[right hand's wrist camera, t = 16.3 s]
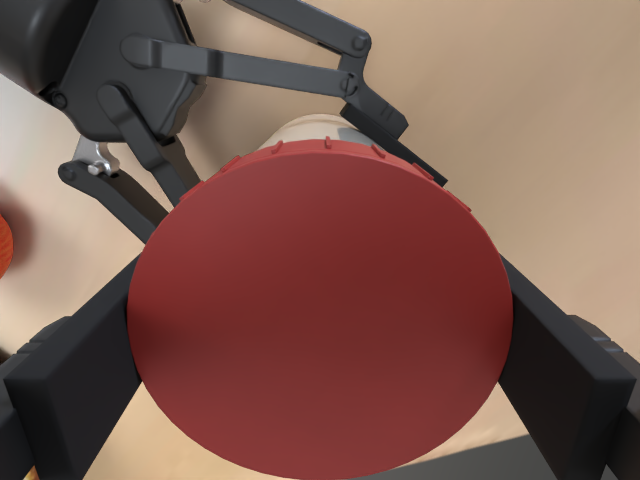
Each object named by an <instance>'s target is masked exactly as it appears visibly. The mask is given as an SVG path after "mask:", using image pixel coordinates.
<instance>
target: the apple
mask: <svg viewBox="0 0 640 480" xmlns="http://www.w3.org/2000/svg"><path fill="white" fill-rule="evenodd" d="M12 256H13V237H12V233H11V230H10V227H9V225H8V224H7V222H6V221H5V220H4V218H3V217H2V216H1V214H0V279H1V277H2V276H3V275H4V273H5V272H6V270H7V268H8V266H9V264H10V262H11V259H12Z"/></svg>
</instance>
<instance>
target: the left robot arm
mask: <svg viewBox="0 0 640 480" xmlns="http://www.w3.org/2000/svg"><path fill="white" fill-rule="evenodd" d="M181 1H182V0H0V73H1V74H2V75H4V76H6V77H7V78H9V79H10V80H12V81H13V82H15V83H16V84H18V85H19V86H21V87H22V88H24V89H25V90H27V91H28V92H30V93H32V94H33V95H35V96H36V97H38V98H39V99H41V100H43V101H44V102H46V103H48V104H50V105H51V106H53V107H55V108H57V109H59V110H60V111H62V112H63V113H64V114H65V115H66V116H67V117H68V118H69V119H70V120H71V122H72V123H73V125H74V126H75V128H76V129H77V131H78V132H79V133H80V134H81V136H80V139H79V142H78V145H77V148H76V150H75V153H74V156H73V159H72V161H70V162H66V163H63V164H62V165H60V167H59V168H58V175H59V177H60V179H61V180H62V181H63V182H64V183H66V184H68V185H70V186H72V187H74V188H76V189H78V190H80V191H82V192H83V193H85V194H87V195H89V196H91V197H93V198H95V199H97V200H98V201H99V202H100V203H101V204H102V205H103V206H104V207H106V208H107V209H108V210H109V211H110V212H111V213H112V214H113V215H114V216H115V217H116V218H117V219H118V220H120V221H121V222H122V223H123V224H124V225H125V226H126V227H127V228H128V229H129V230H130V231H131V232H132V233H133V234H135V235H136V236H137V237H138V238H139V239H140V240H141V241H142V242H143V243H144V244H145V245H146V243H147V241H148V240H149V238H150V236H151V234H152V233H153V232H154V231H155V230H156V228H157V227H158V226H159V224H160V223H161V221H162V220H163V219H164V218H165V217H166V216H167V215H168V214H169V213H168V212H167V211H166V210H165V209H164V208H163V207H162V206H161V205H160V204H159V203H158V202H157V201H156V200H155V199H154V198H153V197H152V196H151V195H150V194H149V193H148V192H147V191H146V190H145V189H144V188H143V187H142V186H141V185H140V184H139V183H138V182H137V181H136V180H135V179H133V178H132V177H131V176H130V175H128V174H127V173H126V172H124V171H123V170H121V169H119V165H120V162H119V160H118V159H117V158H115V157H114V156H112V155H111V154H110V152H109V151H108V148H107V142H110V143H127V144H128V146H129V147H130V149H131V150H132V152H133V153H134V155H135V156H136V158H137V159H138V161H139V162H140V164H141V165H142V166H143V168H145V169H146V170H147V171H149V172H151V173H152V174H153V176H154V177H155V179H156V180H157V182H158V183H159V185H160V187H161V188H162V190H163V191H164V193H165V194H166V196H167V197H168V199H169V200H170V202H171V203H172V205H173V207H174V208H175V207H176V206H177V205H178V204H179V203H180V202H181V200H179V199H180V198H181V197H182V196H183V195H184V194H186V193H187V192H188V191H189V190H191V189H192V188H193V187H195V186H196V185H197V184H199V183H200V182H201V180H200V179H199V177H198V175H197V174H196V172H195V171H194V169H193V167H192V166H191V164H190V162H189V161H188V159H187V157H186V155H185V150H184V147H183V145H182V143H181V142H180V140H179V138H178V137H177V135H176V134H177V133H180V131H181V129H182V128H183V126H184V124H185V122H186V120H187V116H188V112H189V108H190V106H191V105H192V104H194V103H195V102H196V101H197V100H198V99H199V98H200V97H201V95H202V93H203V92H204V90H205V88H206V86H207V85H206V84H205V79H206V76H209V77H216V78H222V79H229V80H235V81H241V82H247V83H254V84H260V85H266V86H272V87H279V88H285V89H291V90H297V91H303V92H310V93H316V94H322V95H328V96H335V97H341V98H342V99H343V100H344V101H346V102H347V103H346V105H345V106H344V107H343V109H342V110H341V112H340V113H339V114H340V115H341V116H342V117H343V118H344V119H346V120H347V121H348V122H349V123H351V124H352V125H353V126H355V127H356V128H357V129H358V130H360V131H361V132H362V133H364V134H365V135H366V136H367V137H369V138H370V139H371V140H373V141H374V142H375V143H376V144H378V145H379V146H380V147H382V148H383V149H384V150H385V151H387V152H388V153H390V154H392V155H394V156H396V157H398V158H400V159H403V160H405V161H406V162H408V163H409V164H411V165H412V164H413V163H416V164H417V165H418V166H420V167H421V168H422V169H424V170H425V171H426V172H427V173H429V174H430V175H431V176H433V177H434V179H433V181H434V182H436V183H437V184H438V185H439V186H441V187H443V186H444V185H445V184H446V182H447V181H448V180H447V179H446V178H444V177H443V176H442V175H441V174H439V173H438V172H437V171H435V170H434V169H433V168H432V167H430V166H429V165H428V164H427V163H425V162H424V161H423V160H422V159H420V158H419V157H418V156H417V155H415V154H414V153H413V152H411V151H410V150H409V149H408V148H406V147H405V146H404V145H403V144H401V143H400V142H399V141H398V138H399V137H400V136H401V135H402V133H403V132H404V131H405V129H406V128H407V127H408V126H409V124H408V122H407V121H406V119H405V117H404V115H402V114H401V113H400V112H399V111H397V110H396V109H395V108H394V107H393V106H391V105H390V104H389V103H388V102H386V101H385V100H384V99H383V98H381V97H380V96H379V95H378V94H376V93H375V92H374V91H373V90H372V89H370V88H369V87H368V86H367V85H366V83H365V81H364V78H363V70H364V66H365V63H366V59H367V56H368V53H369V50H370V49H371V44H372V42H371V37H370V36H369V34H368V33H367V32H366V31H364V30H363V29H360V28H358V27H356V26H354V25H352V24H350V23H348V22H345V21H343V20H341V19H339V18H337V17H335V16H333V15H331V14H328V13H326V12H324V11H322V10H320V9H318V8H316V7H314V6H311V5H309V4H307V3H305V2H303V1H301V0H223V1H225V2H226V3H228V4H230V5H231V6H233V7H235V8H237V9H239V10H241V11H244V12H246V13H248V14H250V15H252V16H255V17H257V18H259V19H261V20H263V21H266V22H268V23H270V24H272V25H274V26H277V27H279V28H281V29H283V30H285V31H288V32H290V33H292V34H294V35H296V36H299V37H301V38H303V39H305V40H307V41H309V42H312V43H314V44H316V45H318V46H320V47H323V48H325V49H327V50H329V51H331V52H334V53H336V54H338V55H340V56H341V58H340V62H339V65H338V69H337V70H334V69H328V68H321V67H315V66H309V65H303V64H297V63H291V62H285V61H279V60H273V59H267V58H261V57H254V56H248V55H242V54H236V53H230V52H224V51H219V50H214V49H209V48H203V47H197V45H196V43H195V40H194V38H193V35H192V33H191V30H190V28H189V25H188V22H187V20H186V17H185V15H184V12H183V10H182V7H181V5H180V3H181ZM198 1H199V2H203V3H206V2H209V1H211V0H198Z"/></svg>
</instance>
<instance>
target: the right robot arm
mask: <svg viewBox="0 0 640 480" xmlns="http://www.w3.org/2000/svg"><path fill="white" fill-rule="evenodd" d="M141 253H142V252H141ZM141 253H140V254H139V255H138V256H137V257H136V258H135V259H134V260H133V261H132V262H130V263H129V264H128V265H127V266H126V267H125V268H124V269H123V270H122V271H121V272H119V273H118V274H117V275H116V276H115V277H114V278H113V279H112V280H111V281H110V282H109V283H107V284H106V285H105V286H104V287H103V288H102V289H101V290H100V291H99V292H98V293H96V294H95V295H94V296H93V297H92V298H91V299H90V300H89V301H88V302H87V303H86V304H84V305H83V306H82V307H81V308H80V309H79V310H78V311H77V312H76V313H75V314H73V315H72V316H65V317H63V318H61V319H59V320H57V321H55V322H53V323H52V324H50V325H48V326H46V327H44V328H43V329H42V330H41V331H40V332H38V333H37V334H36V335H35V336H34V337H33V338H32V339H30V340H29V341H30V342H29V343H26V344H25V345H23V346H22V347H21V348H20V349H19V350H18V351H17V354H13V355H12V356H11V357H9V358H8V359H7V360H6V361H5V362H4V363H3V364H1V365H0V480H23V479H24V478H25V477H26V475H27V474H28V473H29V471H30V470H31V469H32V467H33V466H35V469H36V472H37V475H38V477H39V480H82V479H83V478H84V476H85V474H86V473H87V471H88V469H89V468H90V466H91V464H92V463H93V461H94V460H95V458H96V456H97V455H98V453H99V451H100V450H101V448H102V446H103V445H104V443H105V442H106V440H107V438H108V437H109V435H110V433H111V432H112V430H113V428H114V427H115V425H116V423H117V422H118V420H119V419H120V417H121V415H122V414H123V412H124V410H125V409H126V407H127V405H128V404H129V402H130V400H131V399H132V397H133V396H134V394H135V392H136V391H137V389H138V387H139V386H140V384H141V382H142V379H141V377H140V375H139V373H138V371H137V368H136V365H135V362H134V359H133V356H132V352H131V348H130V343H129V337H128V331H127V302H128V295H129V288H130V283H131V280H132V277H133V273H134V270H135V267H136V264H137V261H138V259H139V257H140V255H141ZM499 255H500V258H501V260H502V263H503V265H504V268H505V270H506V273H507V276H508V280H509V285H510V289H511V294H512V304H513V328H512V338H511V343H510V347H509V352H508V356H507V360H506V363H505V365H504V367H503V370H502V372H501V375H500V377H499V380H498V383H499V384H500V386H501V388H502V389H503V391H504V392H505V394H506V396H507V397H508V399H509V401H510V402H511V404H512V406H513V407H514V409H515V411H516V412H517V414H518V415H519V417H520V419H521V420H522V422H523V424H524V425H525V427H526V429H527V430H528V432H529V434H530V435H531V437H532V438H533V440H534V442H535V443H536V445H537V447H538V448H539V450H540V452H541V453H542V455H543V456H544V458H545V460H546V461H547V463H548V465H549V466H550V468H551V470H552V471H553V473H554V475H555V476H556V478H557V479H558V480H600V479H601V477H602V474H603V471H604V468H605V466H606V464H607V465H608V467H609V468H610V469H611V471H612V472H613V473H614V475H615V476H616V477H617V478H618V480H640V363H638V362H637V361H636V360H635V359H634V358H633V357H631V356H630V355H629V354H628V353H627V352H624V351H623V349H622V348H621V347H620V346H619V345H617V344H616V343H615V342H614V341H611V339H610V338H609V337H608V336H607V335H606V334H605V333H603V332H602V331H601V330H600V329H599V328H598V327H596V326H595V325H593V324H591V323H589V322H587V321H586V320H584V319H582V318H580V317H578V316H576V315H566V314H565V313H564V312H563V311H562V310H561V309H560V308H559V307H558V306H557V305H555V304H554V303H553V302H552V301H551V300H550V299H549V298H548V297H547V296H546V295H544V294H543V293H542V292H541V291H540V290H539V289H538V288H537V287H536V286H535V285H534V284H532V283H531V282H530V281H529V280H528V279H527V278H526V277H525V276H524V275H523V274H521V273H520V272H519V271H518V270H517V269H516V268H515V267H514V266H513V265H512V264H511V263H509V262H508V261H507V260H506V259H505V258H504V257H503V256H502V255H501V254H500V253H499Z"/></svg>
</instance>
